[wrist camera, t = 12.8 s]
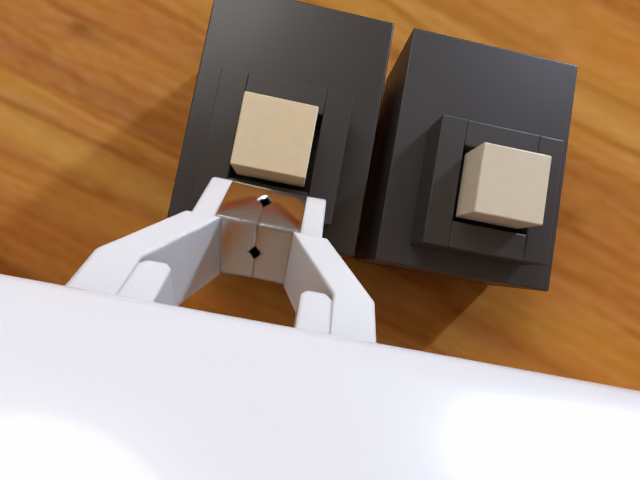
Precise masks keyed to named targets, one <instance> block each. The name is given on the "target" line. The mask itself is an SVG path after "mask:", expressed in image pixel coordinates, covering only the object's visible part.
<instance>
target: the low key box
mask: <svg viewBox="0 0 640 480" xmlns="http://www.w3.org/2000/svg"><path fill="white" fill-rule="evenodd" d="M577 68H578V67H577V66H575V65H571V64H567V63H562V62H558V61H554V60H549V59H545V58H541V57H536V56H532V55H528V54H524V53H519V52H515V51H511V50H506V49H502V48H498V47H493V46H489V45H485V44H481V43H476V42H472V41H468V40H463V39H459V38H455V37H450V36H446V35H442V34H438V33H433V32H429V31H425V30H420V29H416V28H414V29H413V31H412V33H411V35H410V37H409V38H408V40H407V42H406V44H405V46H404V48H403V50H402V52H401V54H400V55H399V57H398V59H397V61H396V63H395V65H394V67H393V69H392V71H391V72H390V74H389V76H388V78H387V81H386V87H385V93H384V98H383V104H382V110H381V116H380V122H379V127H378V133H377V139H376V145H375V151H374V156H373V162H372V168H371V174H370V180H369V186H368V191H367V197H366V203H365V209H364V215H363V220H362V226H361V232H360V238H359V244H358V250H357V255H356V260H357V261H362V262H368V263H373V264H379V265H384V266H390V267H395V268H400V269H406V270H411V271H417V272H422V273H428V274H433V275H439V276H444V277H450V278H455V279H461V280H466V281H471V282H477V283H482V284H488V285H495V286H504V287H512V288H521V289H530V290H539V291H548V290H549V282H550V275H551V267H552V259H553V252H554V244H555V236H556V229H557V221H558V213H559V206H560V198H561V190H562V183H563V175H564V167H565V160H566V152H567V144H568V137H569V129H570V121H571V114H572V106H573V98H574V91H575V83H576V75H577ZM484 142H487V143H492V144H496V145H501V146H506V147H510V148H515V149H520V150H525V151H529V152H534V153H539V154H543V155H548V156H551V157H552V158H551V165H550V173H549V180H548V188H547V195H546V203H545V210H544V218H543V224H542V225H540V226H533V227H527V228H520V229H514V228H509V227H503V226H498V225H493V224H488V223H483V222H478V221H473V220H468V219H463V218H457V217H456V210H457V204H458V197H459V191H460V184H461V178H462V171H463V164H464V158H465V154H466V153H468V152H470V151H471V150H473V149H475V148H476V147H478V146H479V145H481V144H483V143H484Z"/></svg>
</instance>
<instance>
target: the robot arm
mask: <svg viewBox="0 0 640 480" xmlns="http://www.w3.org/2000/svg"><path fill="white" fill-rule="evenodd" d="M306 198H307V199H306ZM325 208H326V200H325V199H320V198H314V197H308V196H307V197H306V196H301V195H296V194H291V193H285V192H280V191H275V190H271V189H268V188H263V187H259V186H255V185H250V184H246V183H242V182H237V181H232V180H228V179H223V178H219V177H213V178H212V179H211V180H210V182H209V183H208V185H207V187H206V188H205V190H204V192H203V193H202V195H201V197H200V198H199V200H198V202H197V203H196V205H195V207H194V208H193V210H192V212H191V211H184V212H181V213H179V214H177V215H174V216H172V217H169V218H167V219H165V220H162V221H160V222H158V223H155V224H153V225H151V226H148V227H146V228H143V229H141V230H139V231H136V232H134V233H132V234H129V235H127V236H124V237H122V238H120V239H117V240H115V241H113V242H110V243H108V244H106V245H103V246H101V247H98V248H96V249H95V250H94V252H93V253H92V254H91V255H90V256H89V258H88V259H87V260H86V261H85V262H84V263H83V265H82V266H81V267H80V268H79V269H78V271H77V272H76V273H75V274H74V275H73V277H72V278H71V279H70V280H69V281H68V283H67V284H66V285H65V286H64V285H58V284H53V283H47V282H42V281H36V280H31V279H26V278H20V277H15V276H9V275H4V274H0V480H640V391H637V390H631V389H626V388H620V387H615V386H610V385H604V384H599V383H593V382H588V381H582V380H577V379H571V378H566V377H560V376H555V375H550V374H544V373H539V372H533V371H528V370H522V369H517V368H511V367H506V366H500V365H495V364H490V363H484V362H479V361H473V360H468V359H462V358H457V357H451V356H446V355H440V354H435V353H429V352H424V351H418V350H413V349H407V348H402V347H396V346H391V345H385V344H380V343H376V327H375V305H374V301H373V300H372V298H371V297H370V296H369V294H368V293H367V292H366V290H365V289H364V288H363V286H362V285H361V284H360V282H359V281H358V280H357V278H356V277H355V276H354V274H353V273H352V271H351V270H350V269H349V267H348V266H347V265H346V263H345V262H344V261H343V259H342V258H341V257H340V255H339V254H338V253H337V251H336V250H335V249H334V247H333V246H332V245H331V243H330V242H329V240H328V239H325V238H322V234H323V225H324V217H325ZM220 272H221V273H227V274H233V275H239V276H245V277H251V278H256V279H261V280H265V281H270V282H274V283H279V284H284V288H285V291H286V293H287V295H288V297H289V300H290V302H291V304H292V307H293V309H294V311H295V313H296V316H295V320H294V324H293V327H288V326H282V325H277V324H272V323H266V322H261V321H255V320H250V319H244V318H239V317H233V316H228V315H222V314H217V313H211V312H206V311H200V310H195V309H189V308H184V307H179V305H180V304H181V303H183V302H184V301H185V300H186V299H188V298H189V297H190V296H192V295H193V294H194V293H196V292H197V291H198V290H200V289H201V288H202V287H203V286H205V285H206V284H207V283H209V282H210V281H211V280H213V279H214V278H215V277H216V276H218V275H219V274H220Z"/></svg>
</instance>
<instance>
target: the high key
mask: <svg viewBox="0 0 640 480" xmlns="http://www.w3.org/2000/svg"><path fill="white" fill-rule="evenodd" d="M318 109H319V108H318V106H313V105H308V104H304V103H299V102H294V101H290V100H285V99H280V98H275V97H271V96H266V95H261V94H257V93H252V92H247V91H245V92H244V97H243V102H242V107H241V112H240V116H239V121H238V126H237V131H236V136H235V141H234V146H233V151H232V156H231V161H230V164H231V166H232V167H233V169H234V170H235V172H236V174H237V175H243V176H248V177H253V178H258V179H263V180H268V181H273V182H278V183H283V184H289V185H294V186H299V187H304V184H305V179H306V174H307V168H308V163H309V158H310V152H311V147H312V141H313V136H314V131H315V125H316V120H317V114H318Z"/></svg>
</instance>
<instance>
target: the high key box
mask: <svg viewBox="0 0 640 480" xmlns="http://www.w3.org/2000/svg"><path fill="white" fill-rule="evenodd" d="M393 29H394V24H393V23H390V22H385V21H381V20H377V19H372V18H368V17H364V16H359V15H355V14H351V13H346V12H342V11H338V10H334V9H329V8H325V7H321V6H316V5H312V4H308V3H303V2H299V1H295V0H214V2H213V6H212V11H211V16H210V20H209V25H208V30H207V34H206V39H205V44H204V48H203V53H202V58H201V62H200V67H199V72H198V76H197V81H196V86H195V90H194V95H193V100H192V104H191V109H190V114H189V119H188V123H187V128H186V133H185V137H184V142H183V147H182V151H181V156H180V161H179V165H178V170H177V175H176V179H175V184H174V189H173V193H172V198H171V203H170V207H169V212H168V217H167V218H169V217H172V216H174V215H177V214H179V213H181V212H184V211H191V212H192V210H193V208H194V207H195V205H196V203H197V202H198V200H199V198H200V197H201V195H202V193H203V192H204V190H205V188H206V187H207V185H208V183H209V182H210V180H211V179H212V178H213V177H219V178H223V179H228V180H232V181H237V182H242V183H246V184H250V185H255V186H259V187H263V188H268V189H271V190H275V191H280V192H285V193H291V194H296V195H301V196H306V197H307V196H308V197H314V198H320V199H325V200H326V208H325V217H324V225H323V234H322V238H325V239H328V240H329V242H330V243H331V245H332V246H333V247H334V249H335V250H336V251H337V253H338V254H339V255H340V257H345V256H354V254H355V249H356V244H357V238H358V232H359V226H360V220H361V215H362V209H363V203H364V197H365V191H366V186H367V180H368V174H369V168H370V162H371V157H372V151H373V145H374V139H375V133H376V128H377V122H378V116H379V110H380V104H381V99H382V93H383V87H384V81H385V75H386V70H387V64H388V58H389V52H390V46H391V41H392V35H393ZM245 91H247V92H252V93H257V94H261V95H266V96H271V97H275V98H280V99H285V100H290V101H294V102H299V103H304V104H308V105H313V106H318V108H319V109H318V114H317V120H316V125H315V131H314V136H313V141H312V147H311V152H310V158H309V163H308V168H307V174H306V179H305V184H304V187H299V186H294V185H289V184H283V183H278V182H273V181H268V180H263V179H258V178H253V177H248V176H243V175H237V174H236V172H235V170H234V169H233V167H232V166H231V164H230V161H231V156H232V151H233V146H234V141H235V136H236V131H237V126H238V121H239V116H240V112H241V107H242V102H243V97H244V92H245ZM306 199H307V198H306Z"/></svg>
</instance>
